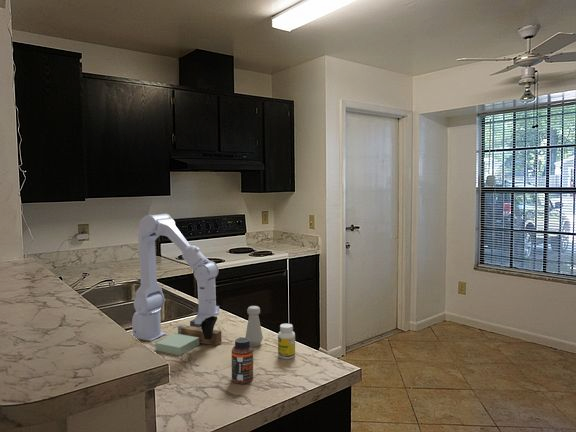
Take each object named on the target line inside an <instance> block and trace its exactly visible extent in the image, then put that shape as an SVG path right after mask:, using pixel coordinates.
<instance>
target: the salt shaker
mask: <svg viewBox="0 0 576 432" xmlns="http://www.w3.org/2000/svg"><path fill="white" fill-rule="evenodd" d="M246 311H247V314H248V320H247V326H246V332H245V337H244V338H248V339H249V340H250V344H249V345H250V346H251V347H252V348H257V347H259V346H260V345H261V344H262V341H263V339H264V336H263V332H262V327H261V322H260V317H259V314H261V308H260V307H259V306H258V305H250V306H248V308H247V309H246Z"/></svg>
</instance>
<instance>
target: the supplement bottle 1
mask: <svg viewBox="0 0 576 432" xmlns="http://www.w3.org/2000/svg"><path fill="white" fill-rule="evenodd" d="M249 344H250V340H249V339H248V338H245V337H238V338H235V340H234V346H233V347H232V349H231V380H232V382H234V383H236V384H239V385H240V384H241V385H243V384H247V383H250V382H252V380H253V379H254V349H253V348H254V347H251V346H250V345H249Z"/></svg>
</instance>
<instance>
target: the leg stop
mask: <svg viewBox="0 0 576 432" xmlns="http://www.w3.org/2000/svg"><path fill="white" fill-rule="evenodd" d="M189 326H192V327H199V328H201V326H200V324H195V318H193V319H191V320H190V321H189Z"/></svg>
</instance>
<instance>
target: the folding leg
mask: <svg viewBox="0 0 576 432" xmlns="http://www.w3.org/2000/svg"><path fill="white" fill-rule="evenodd" d="M177 334H183V335H188V336H194V337H199V344H200V343H201V344H206V345H211V346H212V345H213V346H218V345H220V344H221V343H222V341H223V340H222V330H217V329H213V333H212V338H211V339H205V338H204V335H203V331H202V328H201V327H192V326H190V325H187V324H180V325H177Z"/></svg>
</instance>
